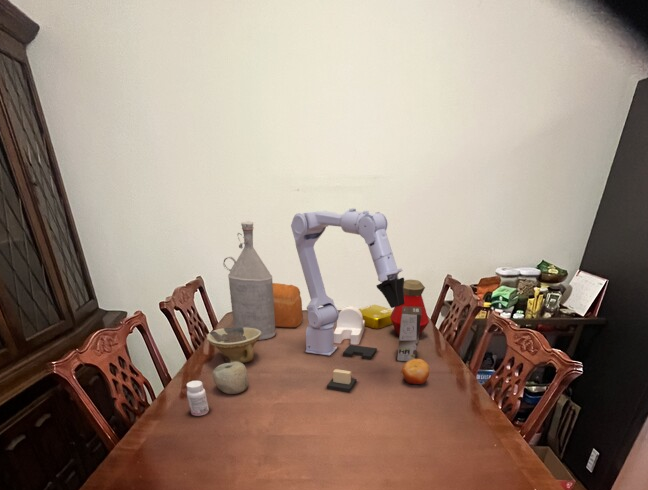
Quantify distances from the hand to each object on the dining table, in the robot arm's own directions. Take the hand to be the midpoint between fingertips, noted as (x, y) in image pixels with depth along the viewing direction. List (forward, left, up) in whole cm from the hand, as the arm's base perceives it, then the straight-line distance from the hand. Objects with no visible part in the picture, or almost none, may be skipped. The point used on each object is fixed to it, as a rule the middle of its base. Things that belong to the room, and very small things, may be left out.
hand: (398, 306), depth 118 cm
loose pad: (-13, -12, -22) cm, 28 cm away
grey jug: (-59, +18, -22) cm, 65 cm away
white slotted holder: (-24, +30, -22) cm, 44 cm away
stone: (-43, -25, -22) cm, 54 cm away
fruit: (+7, -2, -22) cm, 23 cm away
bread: (-60, +34, -22) cm, 72 cm away
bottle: (-3, +39, -22) cm, 45 cm away
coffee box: (+1, +17, -22) cm, 28 cm away
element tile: (-19, +50, -22) cm, 58 cm away
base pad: (-15, +14, -22) cm, 30 cm away
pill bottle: (-44, -40, -22) cm, 63 cm away
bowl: (-52, -5, -22) cm, 57 cm away
